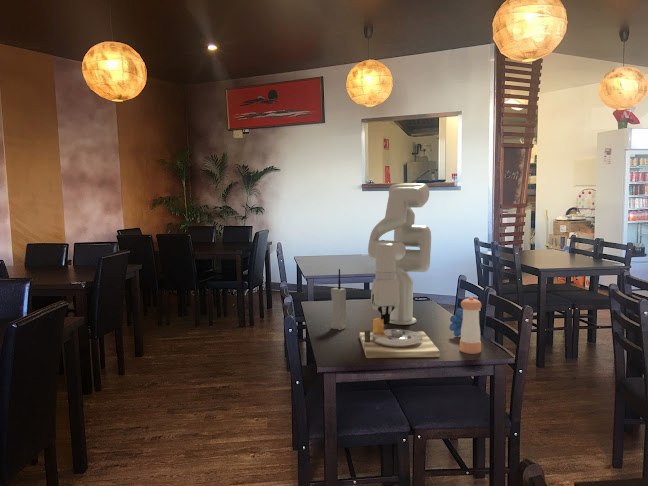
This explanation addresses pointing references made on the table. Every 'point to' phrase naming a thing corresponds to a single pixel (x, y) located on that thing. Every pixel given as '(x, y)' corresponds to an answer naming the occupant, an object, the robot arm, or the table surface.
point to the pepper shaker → (470, 326)
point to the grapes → (457, 322)
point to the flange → (394, 335)
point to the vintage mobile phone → (339, 307)
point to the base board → (398, 348)
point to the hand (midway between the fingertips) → (385, 323)
